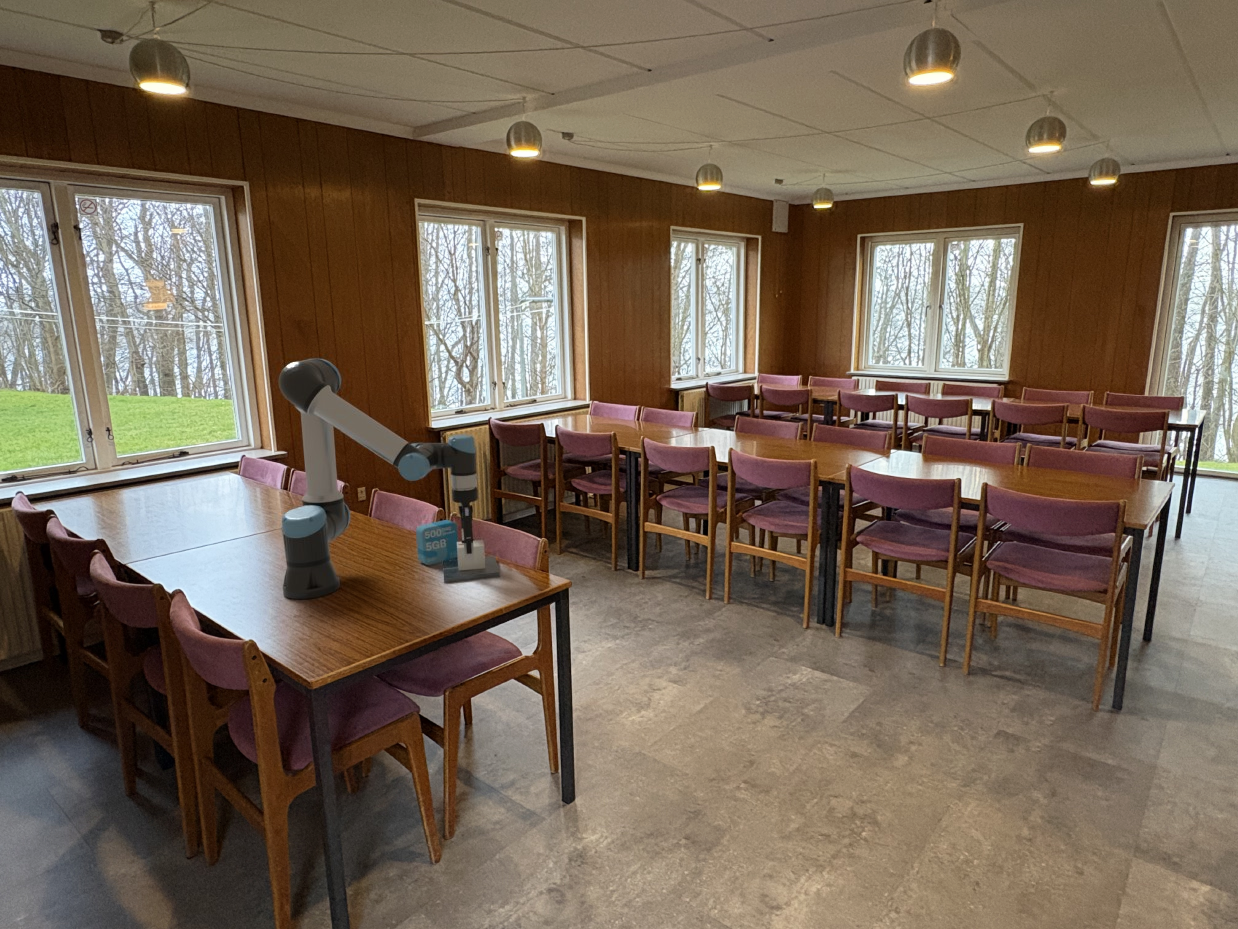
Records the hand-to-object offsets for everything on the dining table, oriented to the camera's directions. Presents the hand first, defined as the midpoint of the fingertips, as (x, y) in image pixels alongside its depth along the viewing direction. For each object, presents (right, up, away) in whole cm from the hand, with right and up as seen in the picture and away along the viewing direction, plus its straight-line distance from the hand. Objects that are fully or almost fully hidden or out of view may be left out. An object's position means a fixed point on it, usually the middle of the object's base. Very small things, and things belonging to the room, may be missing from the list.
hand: (468, 556), depth 233 cm
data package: (-12, -3, +12) cm, 17 cm away
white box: (+1, -3, +1) cm, 3 cm away
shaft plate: (0, -5, +1) cm, 5 cm away
